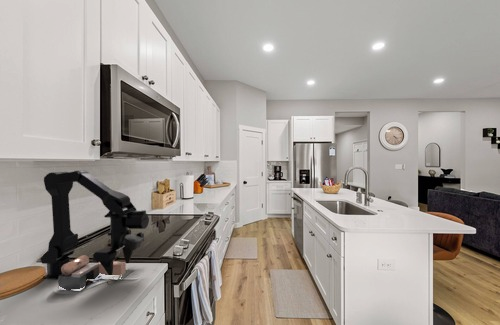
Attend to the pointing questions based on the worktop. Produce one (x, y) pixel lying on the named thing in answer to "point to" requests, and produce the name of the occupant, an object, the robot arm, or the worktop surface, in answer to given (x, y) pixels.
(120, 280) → the mat
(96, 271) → the dispenser
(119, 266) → the salmon pink rectangular block
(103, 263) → the robot arm
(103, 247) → the vase
